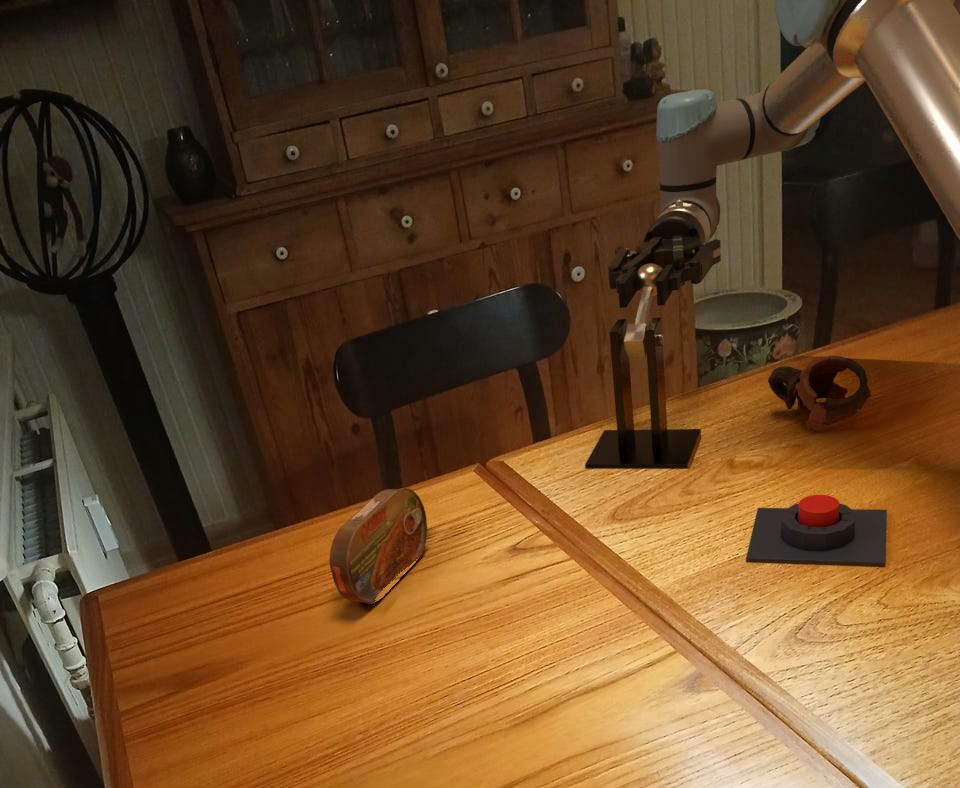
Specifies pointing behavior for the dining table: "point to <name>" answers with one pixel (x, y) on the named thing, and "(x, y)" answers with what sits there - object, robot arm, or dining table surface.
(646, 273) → the lever
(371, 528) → the tin
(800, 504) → the button
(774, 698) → the dining table surface
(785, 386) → the pottery mug
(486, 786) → the dining table surface
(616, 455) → the bracket
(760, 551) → the button box
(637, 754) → the dining table surface
